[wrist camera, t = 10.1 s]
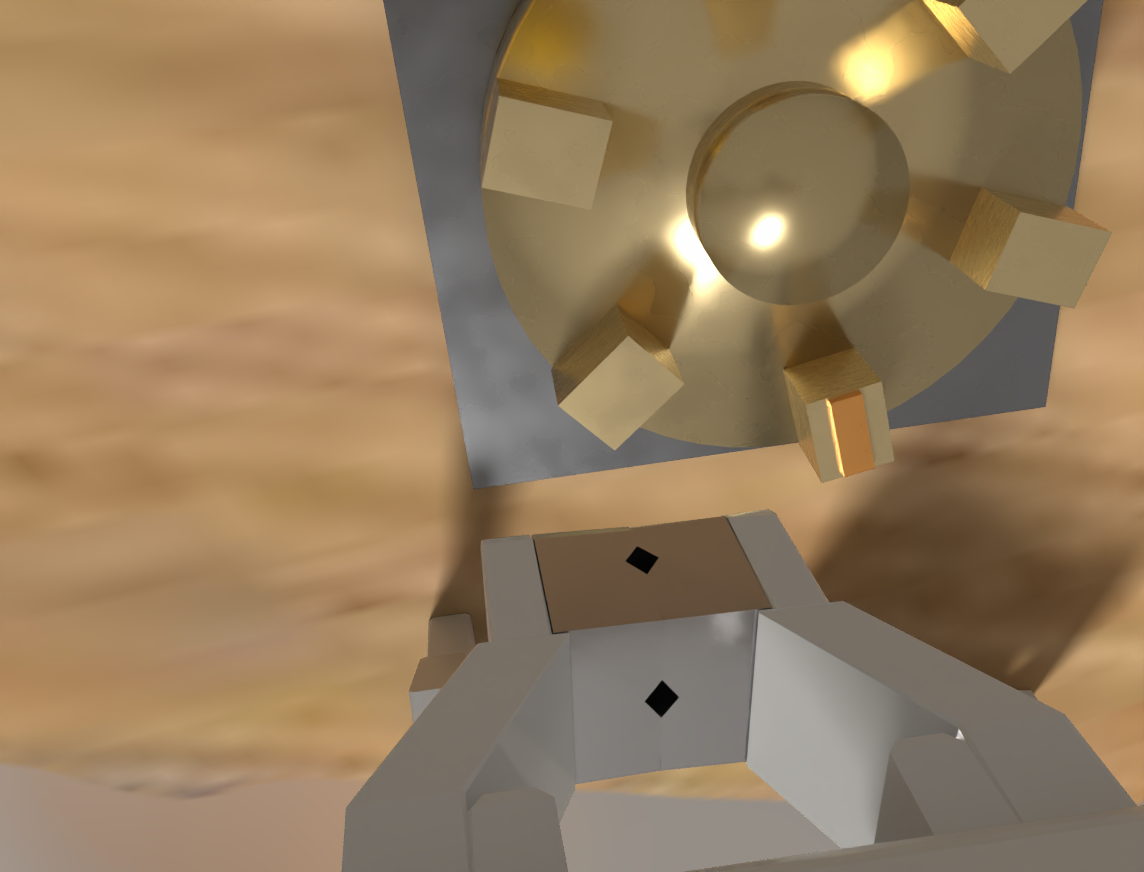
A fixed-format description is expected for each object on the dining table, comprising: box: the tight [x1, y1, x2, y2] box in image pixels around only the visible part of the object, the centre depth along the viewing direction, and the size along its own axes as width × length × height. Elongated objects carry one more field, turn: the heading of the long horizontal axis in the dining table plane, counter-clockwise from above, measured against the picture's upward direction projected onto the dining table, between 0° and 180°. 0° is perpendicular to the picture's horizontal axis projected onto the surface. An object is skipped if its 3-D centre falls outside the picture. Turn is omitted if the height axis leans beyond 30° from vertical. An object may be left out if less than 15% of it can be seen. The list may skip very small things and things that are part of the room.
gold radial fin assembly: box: [479, 0, 1112, 483], centre depth 31 cm, size 18×18×6 cm
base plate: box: [383, 0, 1103, 489], centre depth 34 cm, size 22×22×1 cm
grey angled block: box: [409, 613, 476, 723], centre depth 39 cm, size 7×2×8 cm, turn 5°
